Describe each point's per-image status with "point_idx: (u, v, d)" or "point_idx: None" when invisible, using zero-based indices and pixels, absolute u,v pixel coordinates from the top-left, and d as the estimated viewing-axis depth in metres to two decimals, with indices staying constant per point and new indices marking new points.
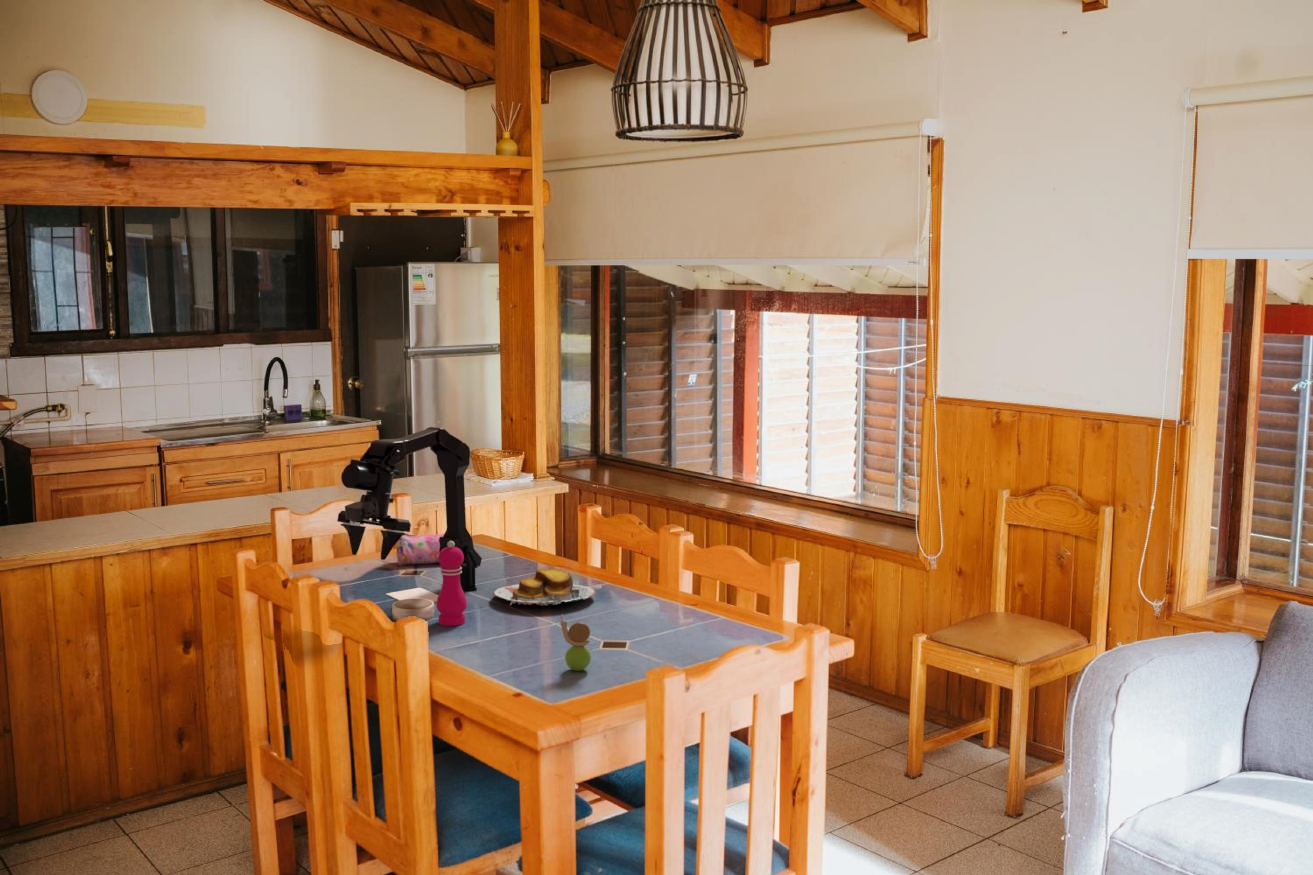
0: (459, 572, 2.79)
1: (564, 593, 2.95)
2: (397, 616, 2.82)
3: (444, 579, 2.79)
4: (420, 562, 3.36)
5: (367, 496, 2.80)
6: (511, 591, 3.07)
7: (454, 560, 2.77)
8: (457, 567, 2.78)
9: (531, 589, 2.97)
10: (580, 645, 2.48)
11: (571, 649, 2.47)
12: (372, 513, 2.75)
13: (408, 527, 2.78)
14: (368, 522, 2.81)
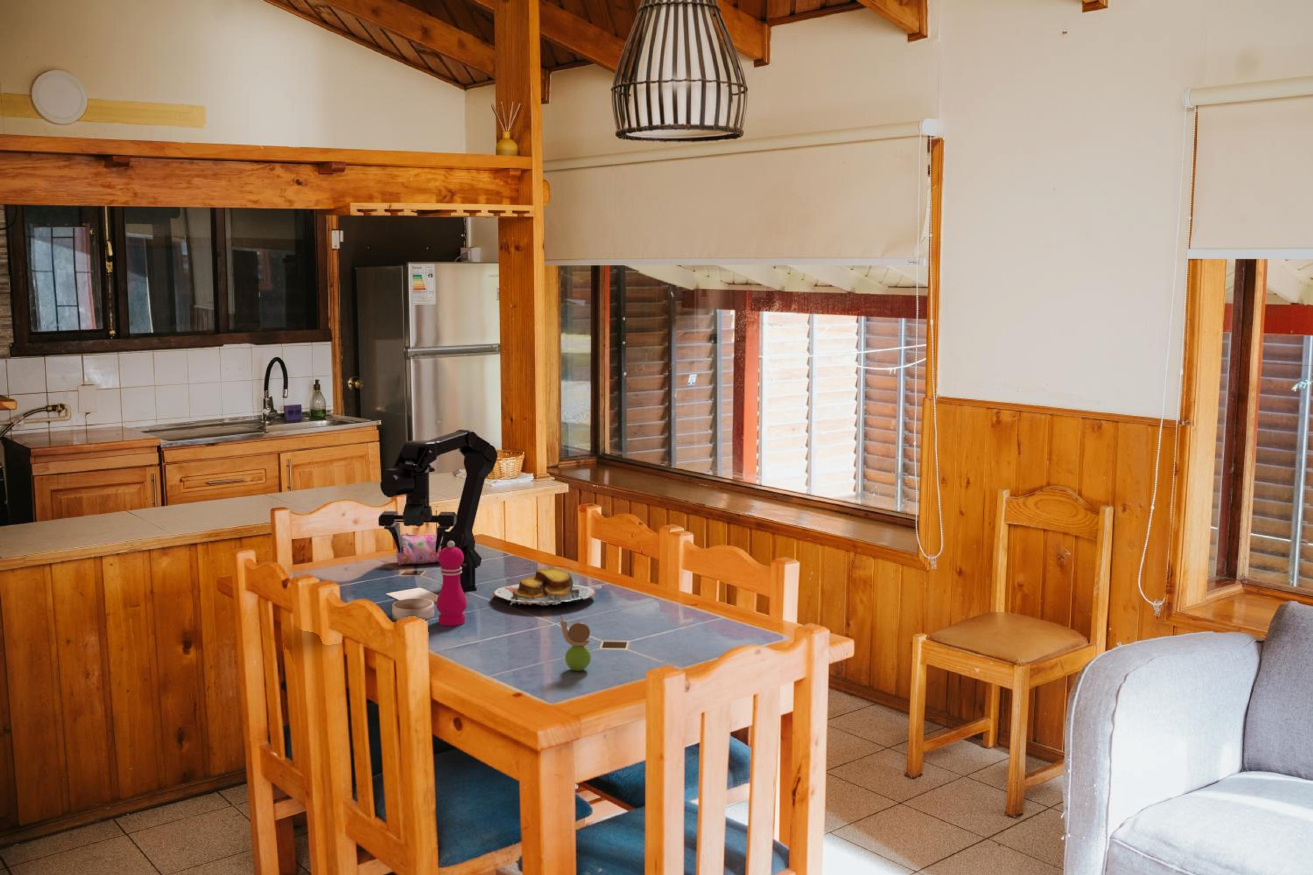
0: (459, 572, 2.79)
1: (564, 593, 2.95)
2: (397, 616, 2.82)
3: (444, 579, 2.79)
4: (420, 562, 3.36)
5: (413, 498, 2.91)
6: (511, 591, 3.07)
7: (454, 560, 2.77)
8: (457, 567, 2.78)
9: (531, 589, 2.98)
10: (580, 645, 2.48)
11: (571, 649, 2.47)
12: (431, 515, 2.89)
13: (456, 518, 2.97)
14: None
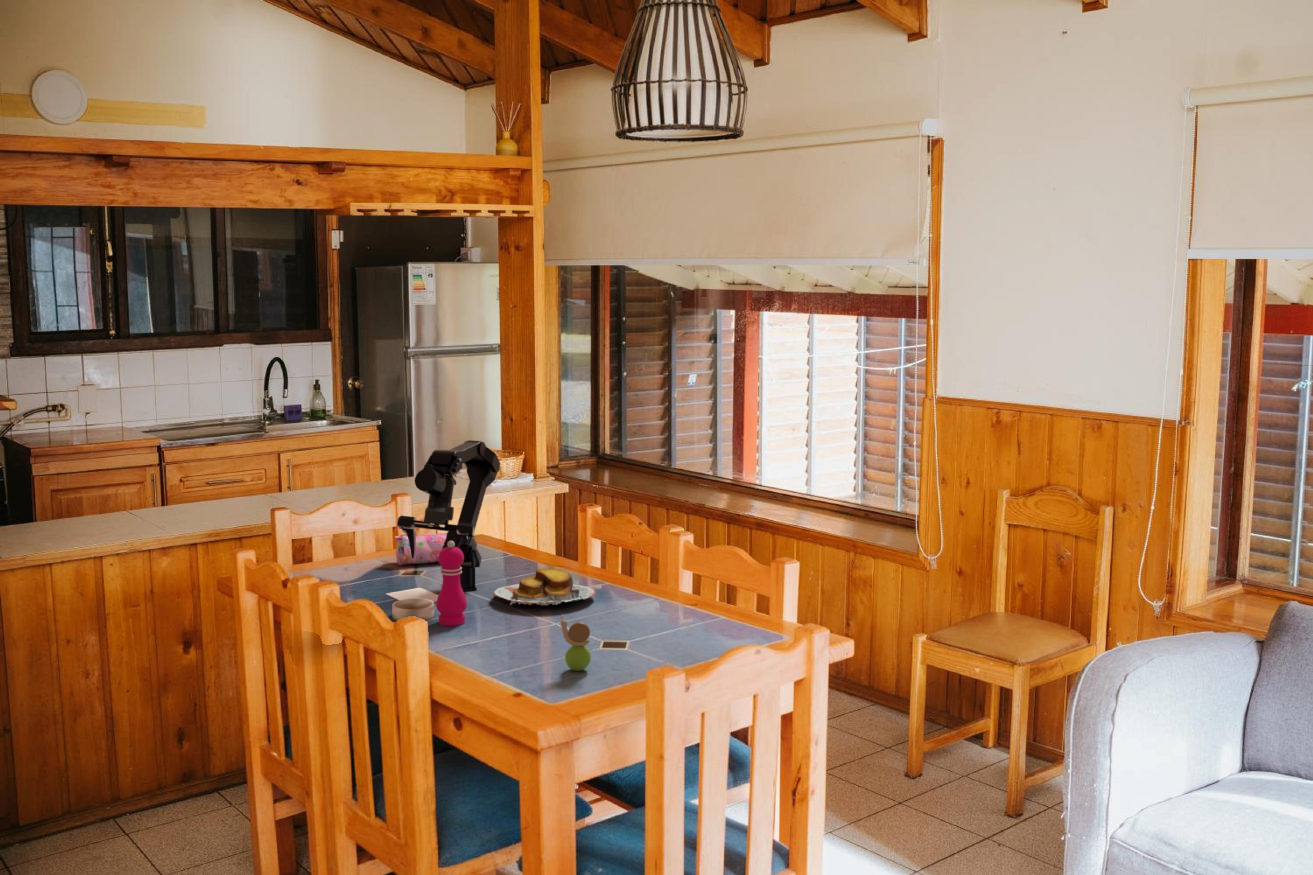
0: (459, 572, 2.79)
1: (564, 593, 2.95)
2: (397, 616, 2.82)
3: (444, 579, 2.79)
4: (420, 562, 3.36)
5: (435, 502, 2.93)
6: (511, 591, 3.07)
7: (454, 560, 2.77)
8: (457, 567, 2.78)
9: (531, 589, 2.98)
10: (580, 645, 2.48)
11: (571, 649, 2.47)
12: (452, 517, 2.90)
13: None
14: (430, 527, 2.94)
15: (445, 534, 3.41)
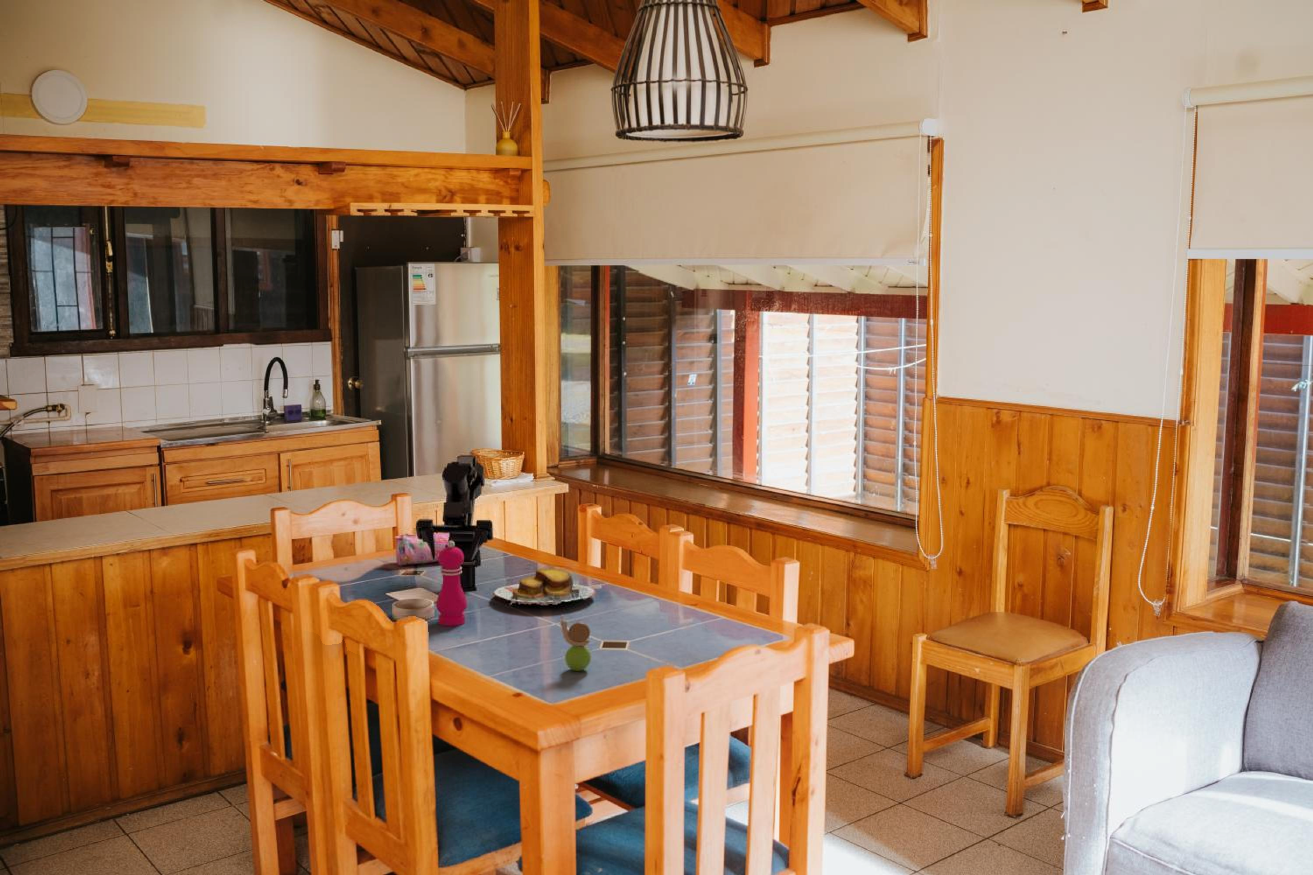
0: (459, 572, 2.79)
1: (564, 593, 2.95)
2: (397, 616, 2.82)
3: (444, 579, 2.79)
4: (421, 562, 3.36)
5: None
6: (511, 591, 3.07)
7: (454, 560, 2.77)
8: (457, 567, 2.78)
9: (531, 588, 2.98)
10: (580, 645, 2.48)
11: (571, 649, 2.47)
12: (471, 511, 2.90)
13: None
14: (449, 529, 2.93)
15: (445, 534, 3.41)
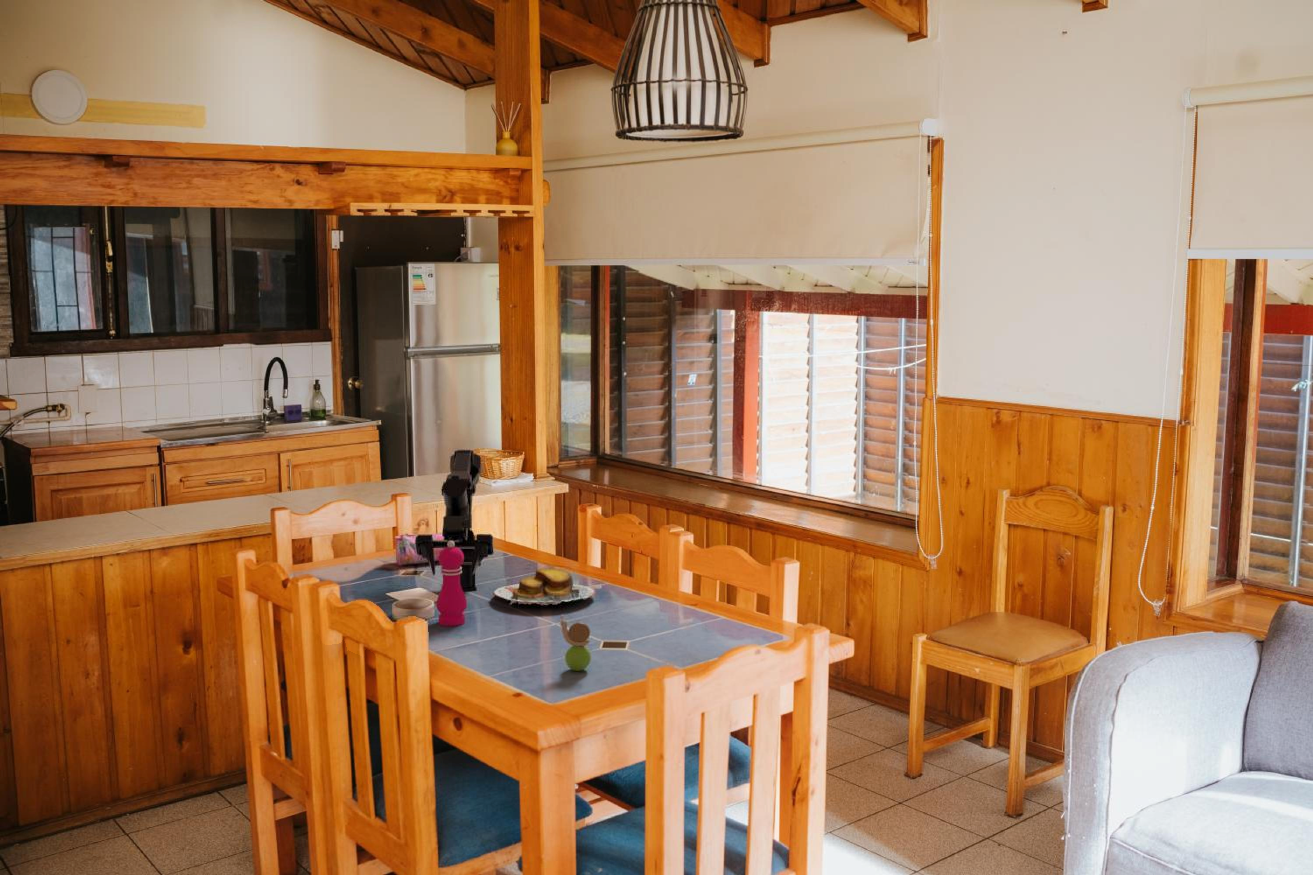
0: (459, 572, 2.79)
1: (564, 593, 2.95)
2: (397, 616, 2.82)
3: (444, 579, 2.79)
4: (421, 562, 3.37)
5: None
6: (511, 591, 3.07)
7: (454, 560, 2.77)
8: (457, 567, 2.78)
9: (531, 588, 2.98)
10: (580, 645, 2.48)
11: (571, 649, 2.47)
12: (471, 525, 2.86)
13: (493, 548, 2.91)
14: None
15: None
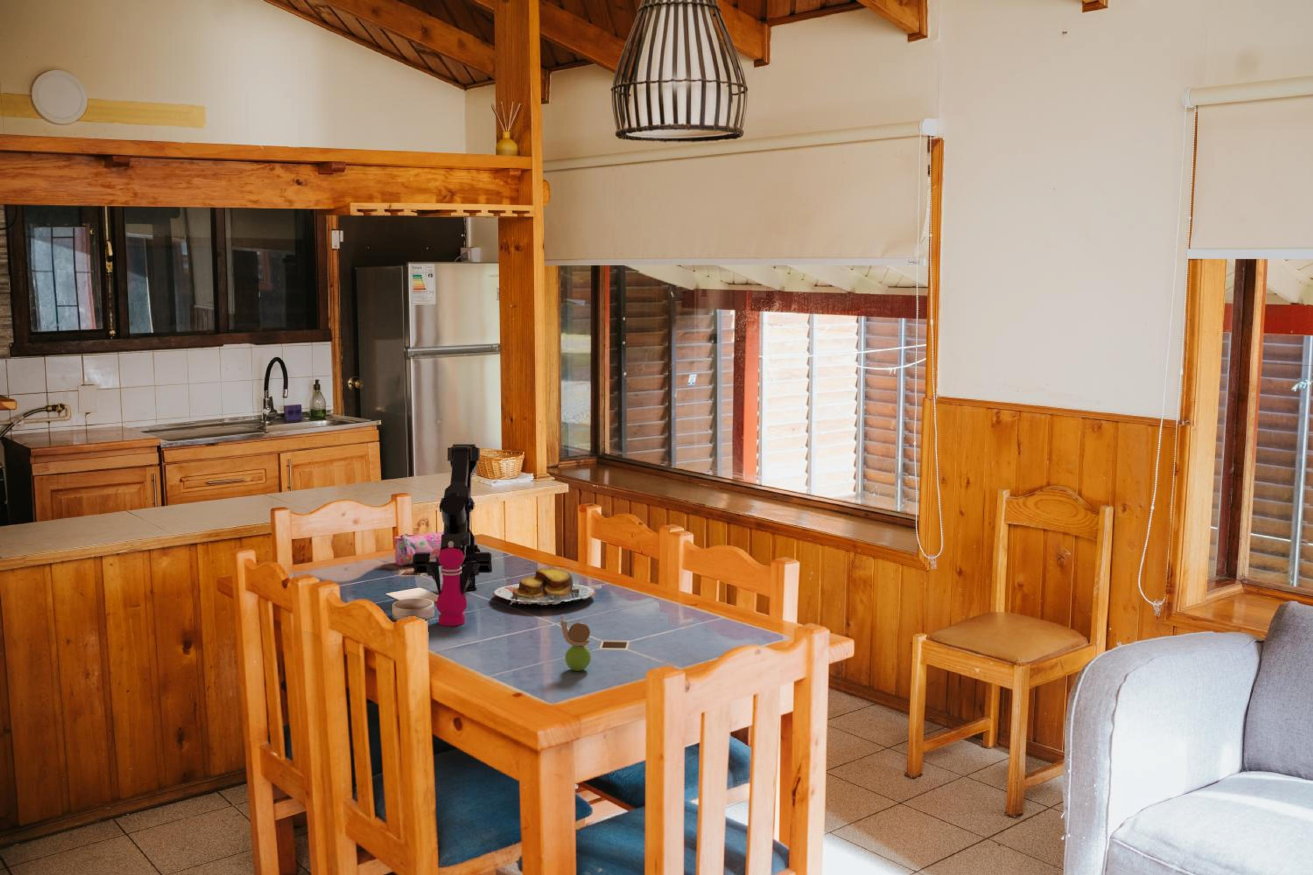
0: (459, 572, 2.79)
1: (564, 593, 2.95)
2: (397, 616, 2.82)
3: (444, 579, 2.79)
4: None
5: None
6: (511, 591, 3.07)
7: (454, 560, 2.77)
8: (457, 567, 2.78)
9: (531, 588, 2.98)
10: (580, 645, 2.48)
11: (571, 649, 2.47)
12: (469, 542, 2.81)
13: None
14: None
15: None
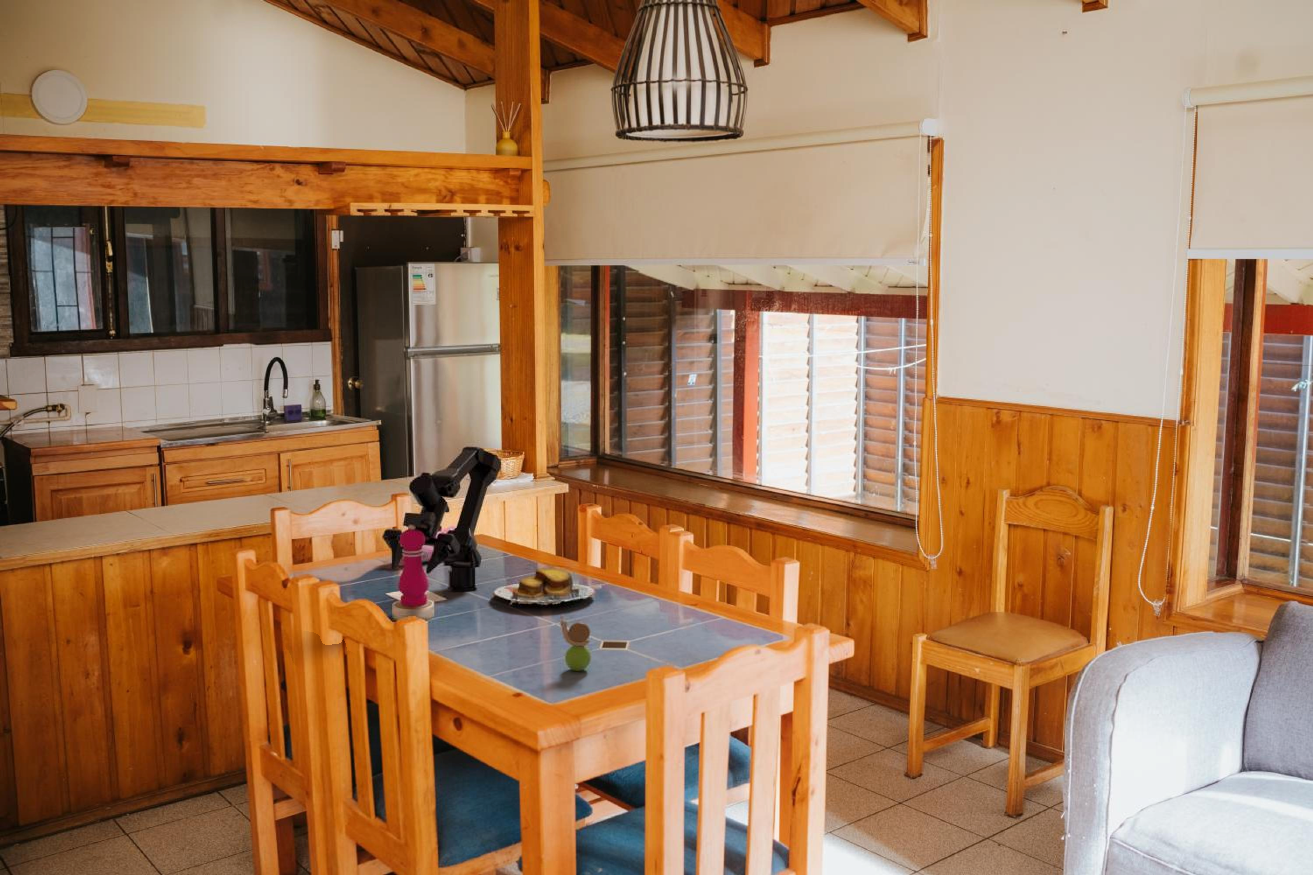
0: (417, 554, 2.83)
1: (564, 592, 2.95)
2: (397, 616, 2.82)
3: (404, 560, 2.84)
4: (422, 561, 3.38)
5: None
6: (511, 590, 3.08)
7: (410, 542, 2.81)
8: (415, 549, 2.83)
9: (531, 588, 2.98)
10: (580, 645, 2.48)
11: (571, 649, 2.47)
12: (432, 523, 2.84)
13: (458, 548, 2.87)
14: None
15: (440, 532, 3.44)
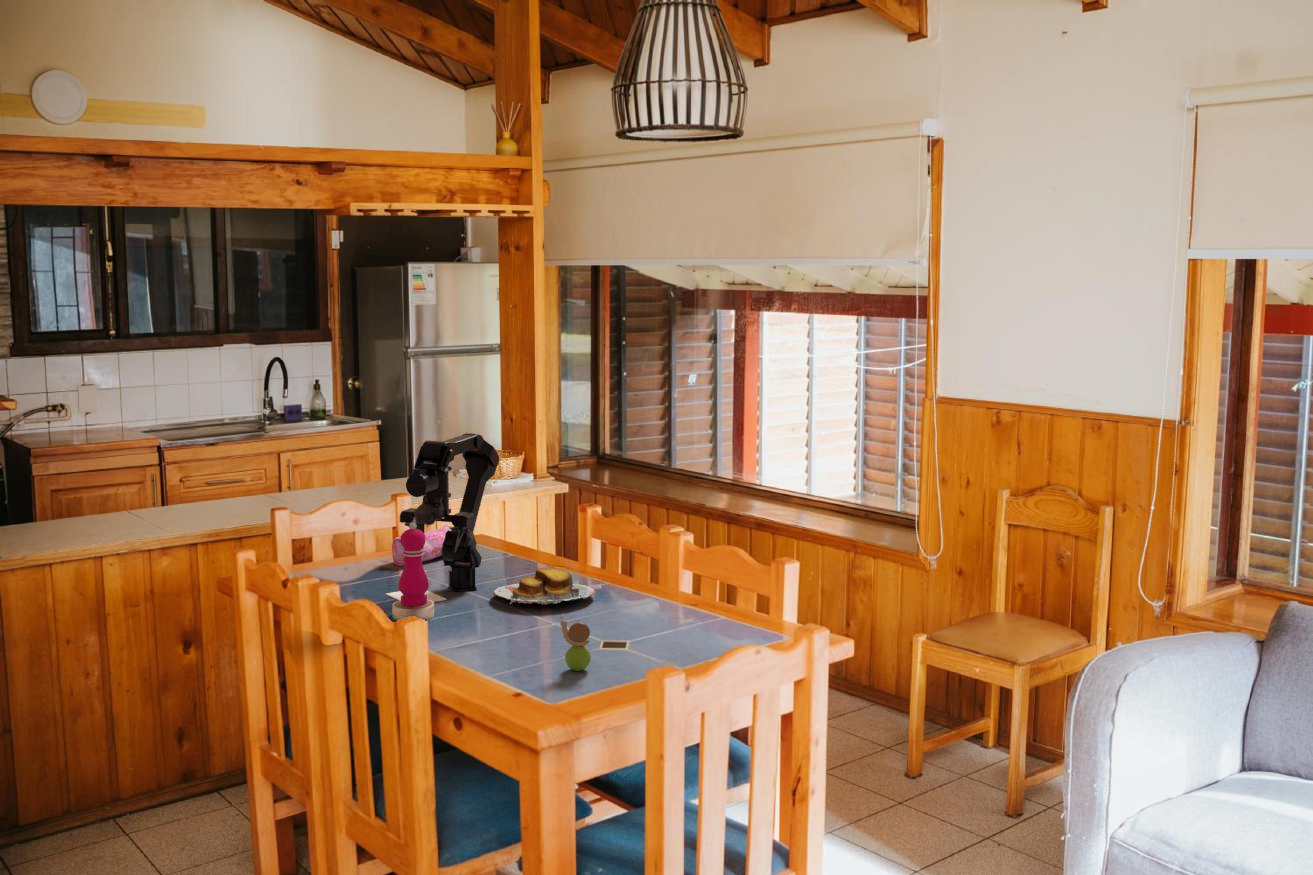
0: (418, 554, 2.83)
1: (564, 592, 2.96)
2: (397, 616, 2.82)
3: (405, 560, 2.84)
4: (422, 560, 3.38)
5: (429, 497, 2.94)
6: (511, 590, 3.08)
7: (411, 542, 2.81)
8: (416, 549, 2.83)
9: (531, 588, 2.98)
10: (580, 645, 2.48)
11: (571, 649, 2.47)
12: (442, 515, 2.91)
13: (474, 519, 2.96)
14: None
15: (436, 531, 3.45)
